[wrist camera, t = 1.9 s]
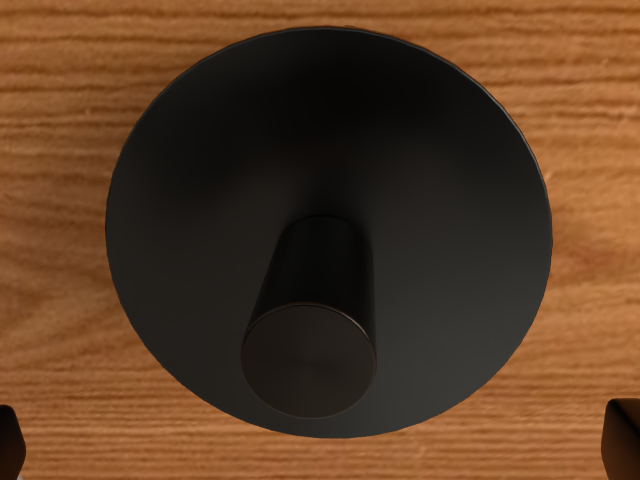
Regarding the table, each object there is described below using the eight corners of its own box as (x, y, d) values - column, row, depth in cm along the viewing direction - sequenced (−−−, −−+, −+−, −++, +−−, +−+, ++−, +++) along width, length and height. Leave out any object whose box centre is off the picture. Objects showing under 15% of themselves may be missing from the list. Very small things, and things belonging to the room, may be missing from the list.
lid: (97, 356, 17) (-10, 504, 12) (157, -38, 13) (30, -56, 8) (450, 452, 17) (483, 632, 13) (617, 100, 13) (763, 163, 8)
